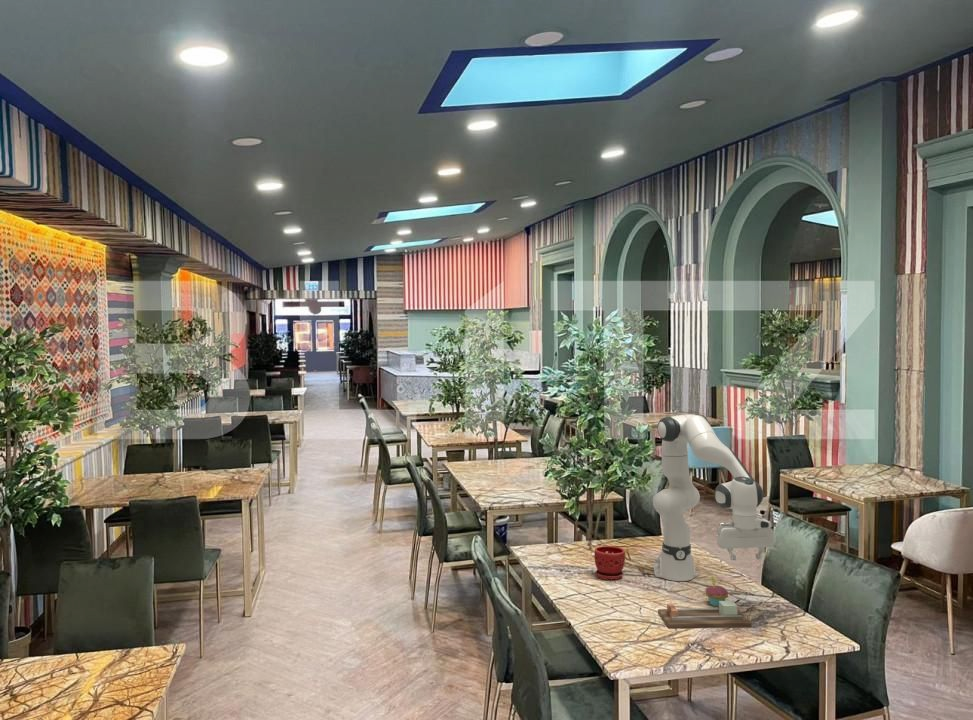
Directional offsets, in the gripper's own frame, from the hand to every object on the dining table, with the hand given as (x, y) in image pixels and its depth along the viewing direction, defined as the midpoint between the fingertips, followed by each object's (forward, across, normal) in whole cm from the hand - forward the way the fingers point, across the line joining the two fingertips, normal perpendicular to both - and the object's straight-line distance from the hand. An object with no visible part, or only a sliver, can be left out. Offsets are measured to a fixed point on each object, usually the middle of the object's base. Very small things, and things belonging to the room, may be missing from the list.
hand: (745, 559), depth 262 cm
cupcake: (+22, -6, +15) cm, 27 cm away
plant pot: (+20, -41, +49) cm, 67 cm away
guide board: (+22, -16, 0) cm, 27 cm away
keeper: (+20, -7, 0) cm, 22 cm away
